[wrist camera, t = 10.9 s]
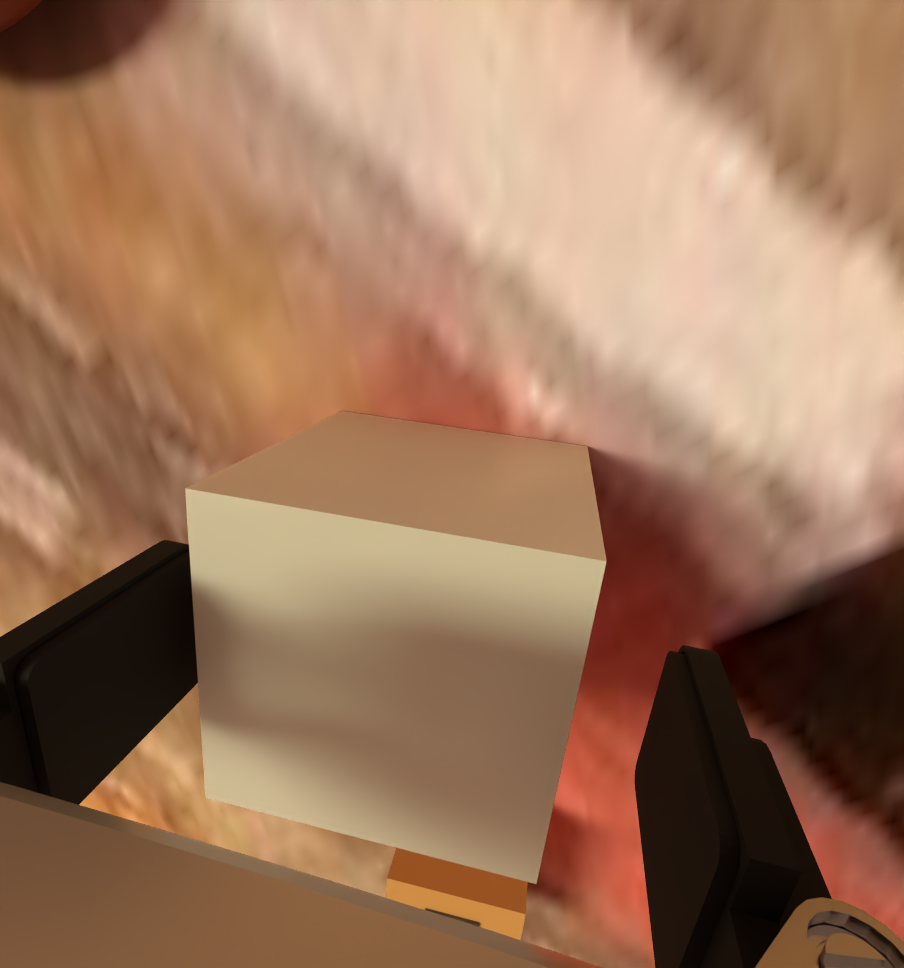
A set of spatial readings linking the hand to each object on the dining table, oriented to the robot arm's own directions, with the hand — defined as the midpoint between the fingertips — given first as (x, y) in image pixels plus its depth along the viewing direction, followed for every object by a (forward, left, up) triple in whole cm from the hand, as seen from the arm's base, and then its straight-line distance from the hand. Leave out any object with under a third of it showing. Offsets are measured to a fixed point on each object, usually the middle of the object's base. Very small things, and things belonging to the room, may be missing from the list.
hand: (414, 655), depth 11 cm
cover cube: (+1, 0, -6) cm, 6 cm away
